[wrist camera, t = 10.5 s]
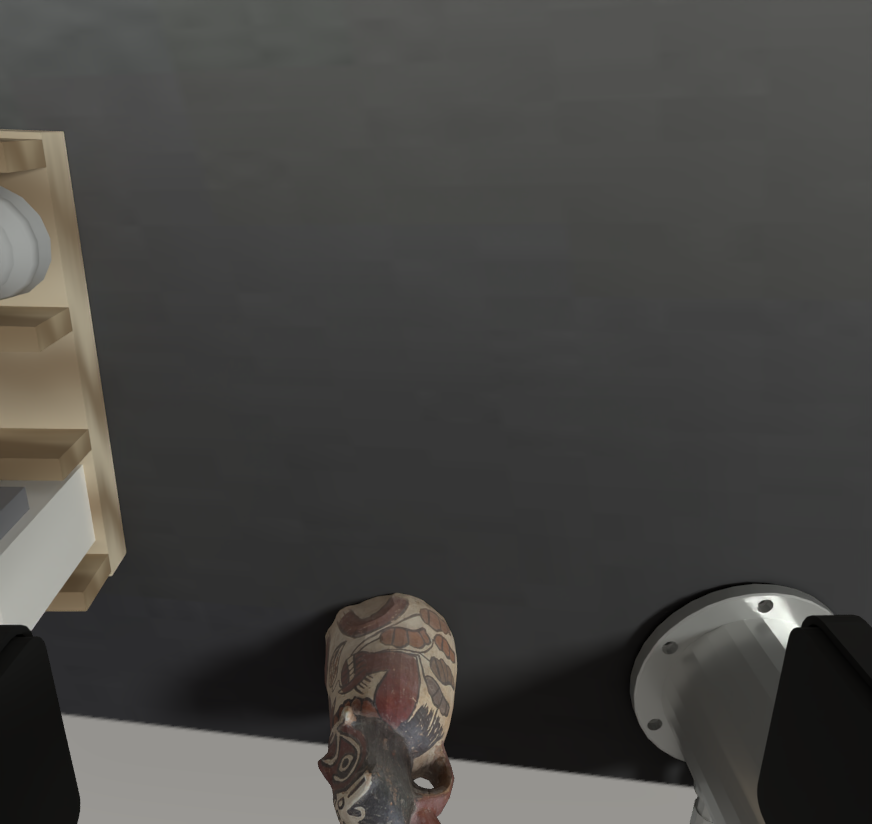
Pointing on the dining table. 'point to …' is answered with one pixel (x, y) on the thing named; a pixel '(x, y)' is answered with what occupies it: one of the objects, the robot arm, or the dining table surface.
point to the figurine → (389, 711)
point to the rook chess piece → (21, 246)
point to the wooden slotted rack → (56, 365)
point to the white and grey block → (40, 542)
